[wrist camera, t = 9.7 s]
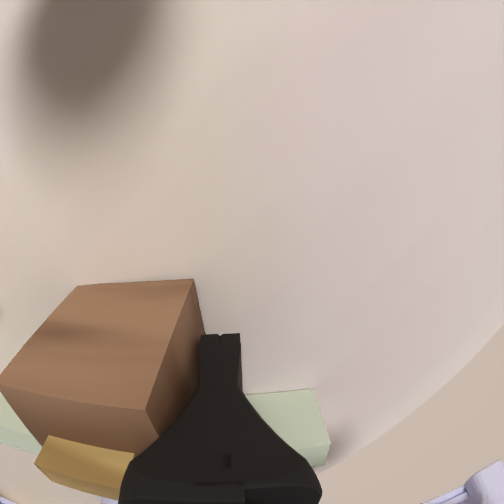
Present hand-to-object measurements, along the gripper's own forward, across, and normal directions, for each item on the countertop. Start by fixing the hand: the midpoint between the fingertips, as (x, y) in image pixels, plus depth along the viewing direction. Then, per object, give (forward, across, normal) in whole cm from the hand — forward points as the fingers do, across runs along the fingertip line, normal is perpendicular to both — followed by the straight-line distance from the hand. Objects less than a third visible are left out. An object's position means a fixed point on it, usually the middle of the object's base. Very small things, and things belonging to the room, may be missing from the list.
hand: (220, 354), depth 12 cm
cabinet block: (+1, +3, 0) cm, 3 cm away
